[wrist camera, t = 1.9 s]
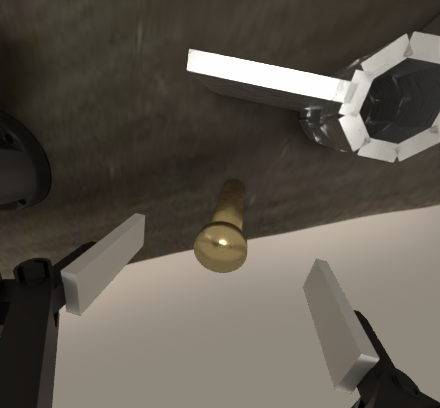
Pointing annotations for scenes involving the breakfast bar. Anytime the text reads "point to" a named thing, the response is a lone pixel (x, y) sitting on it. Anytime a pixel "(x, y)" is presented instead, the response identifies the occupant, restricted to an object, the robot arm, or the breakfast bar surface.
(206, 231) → the brass pin
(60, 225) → the breakfast bar surface
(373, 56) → the hinge fixed leaf
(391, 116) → the hinge swing leaf
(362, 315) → the robot arm
